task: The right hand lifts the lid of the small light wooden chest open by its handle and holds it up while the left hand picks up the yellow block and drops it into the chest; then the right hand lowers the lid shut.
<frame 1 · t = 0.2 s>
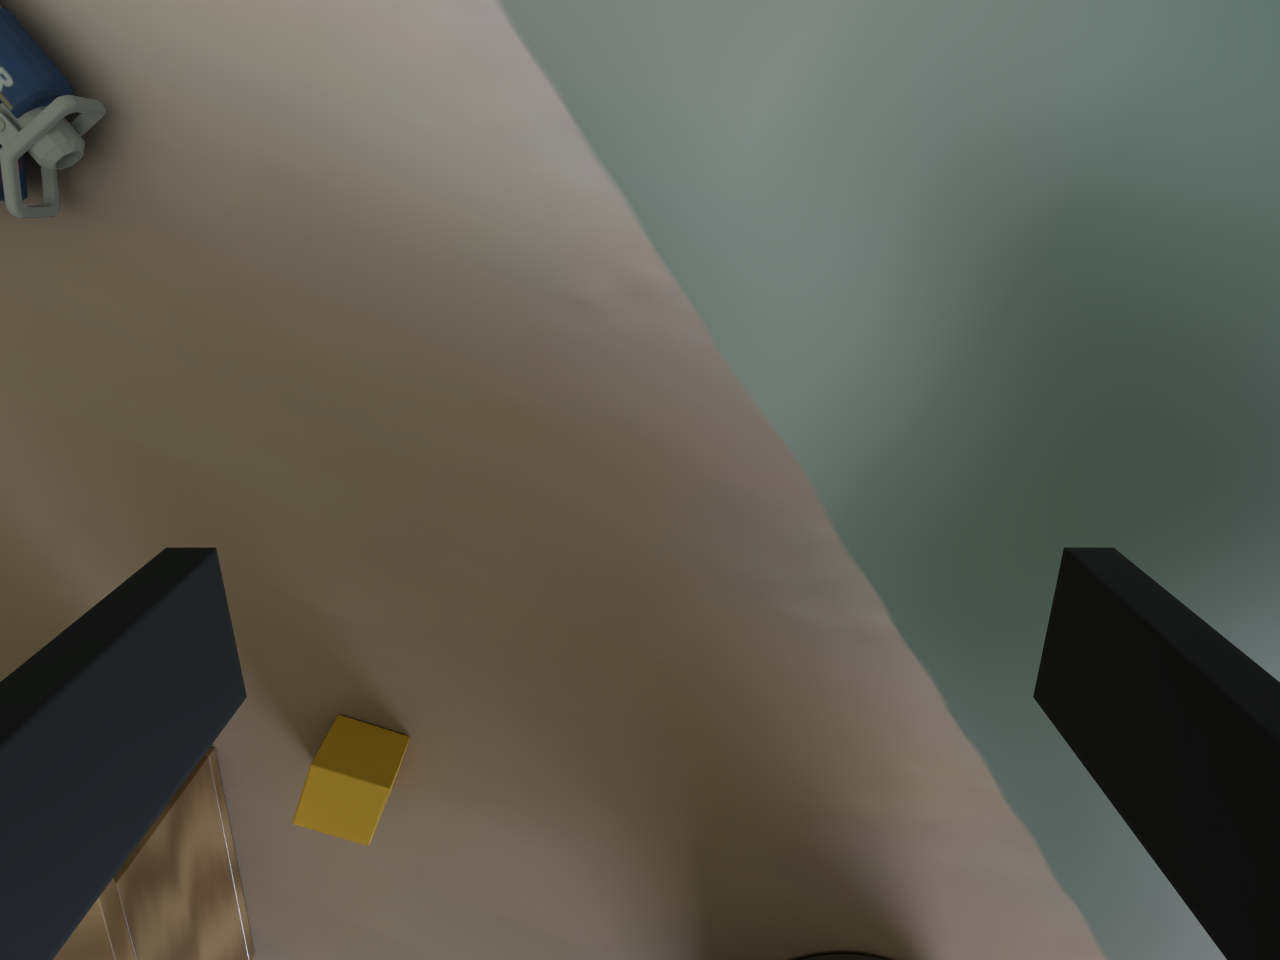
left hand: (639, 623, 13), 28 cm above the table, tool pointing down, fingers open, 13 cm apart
chest: (144, 855, 51), on the table
block: (365, 753, 48), on the table
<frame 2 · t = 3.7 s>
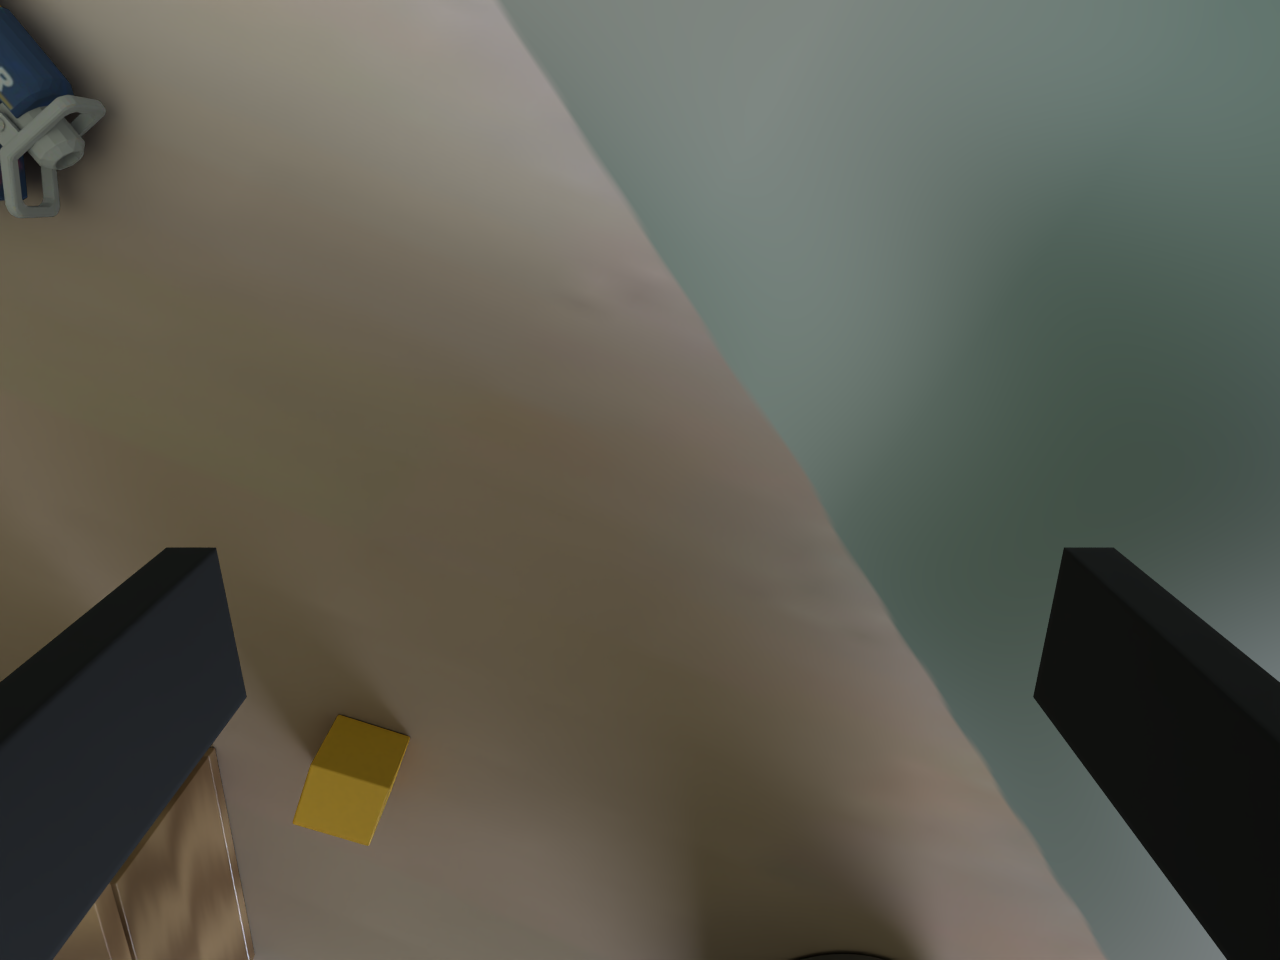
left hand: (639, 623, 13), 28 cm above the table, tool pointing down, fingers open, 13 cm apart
chest: (144, 855, 51), on the table
block: (365, 753, 48), on the table
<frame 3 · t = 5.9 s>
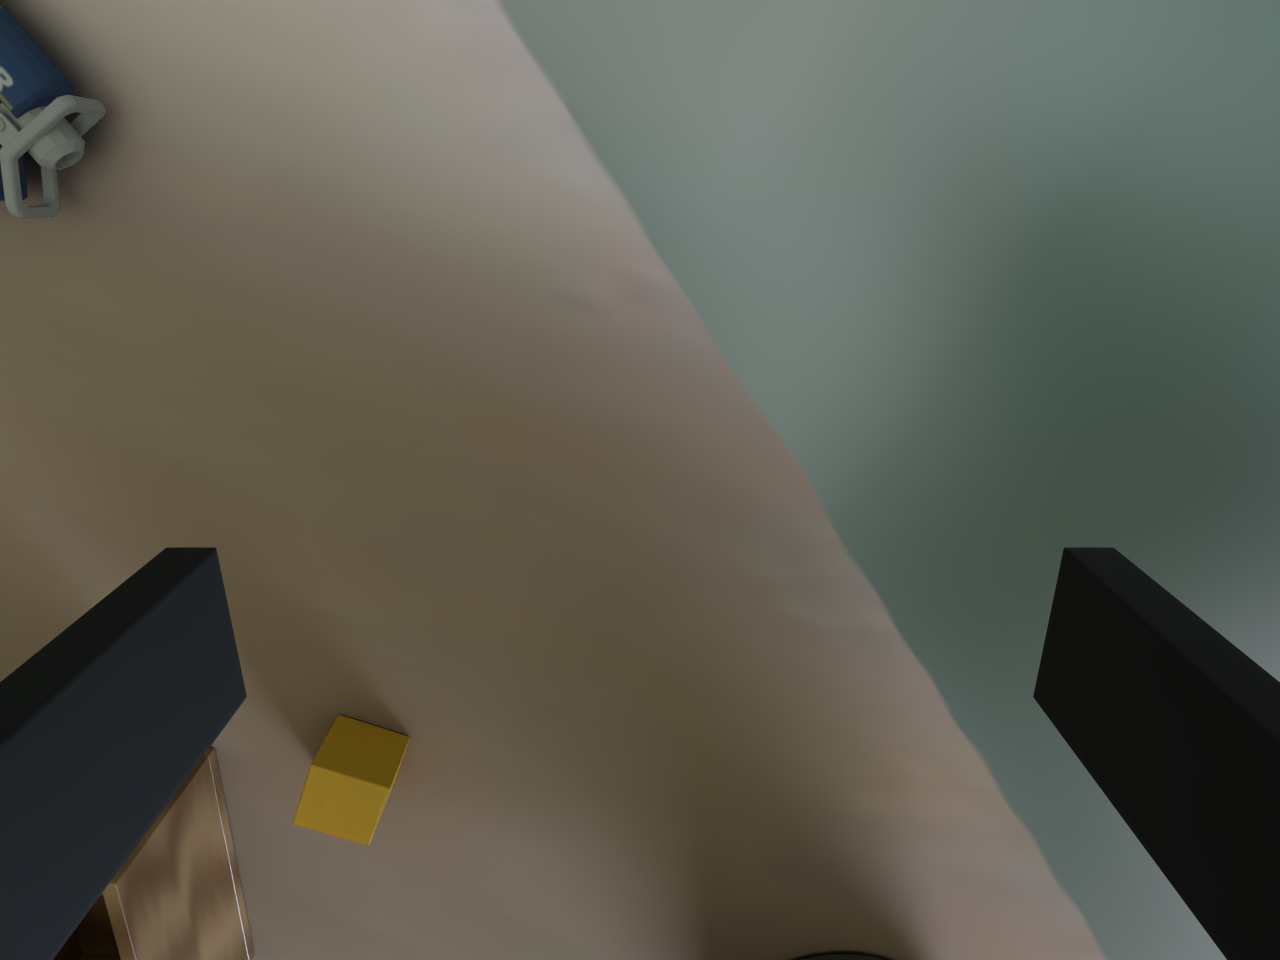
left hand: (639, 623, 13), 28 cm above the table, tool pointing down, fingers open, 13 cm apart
chest: (144, 855, 51), on the table
block: (365, 753, 48), on the table
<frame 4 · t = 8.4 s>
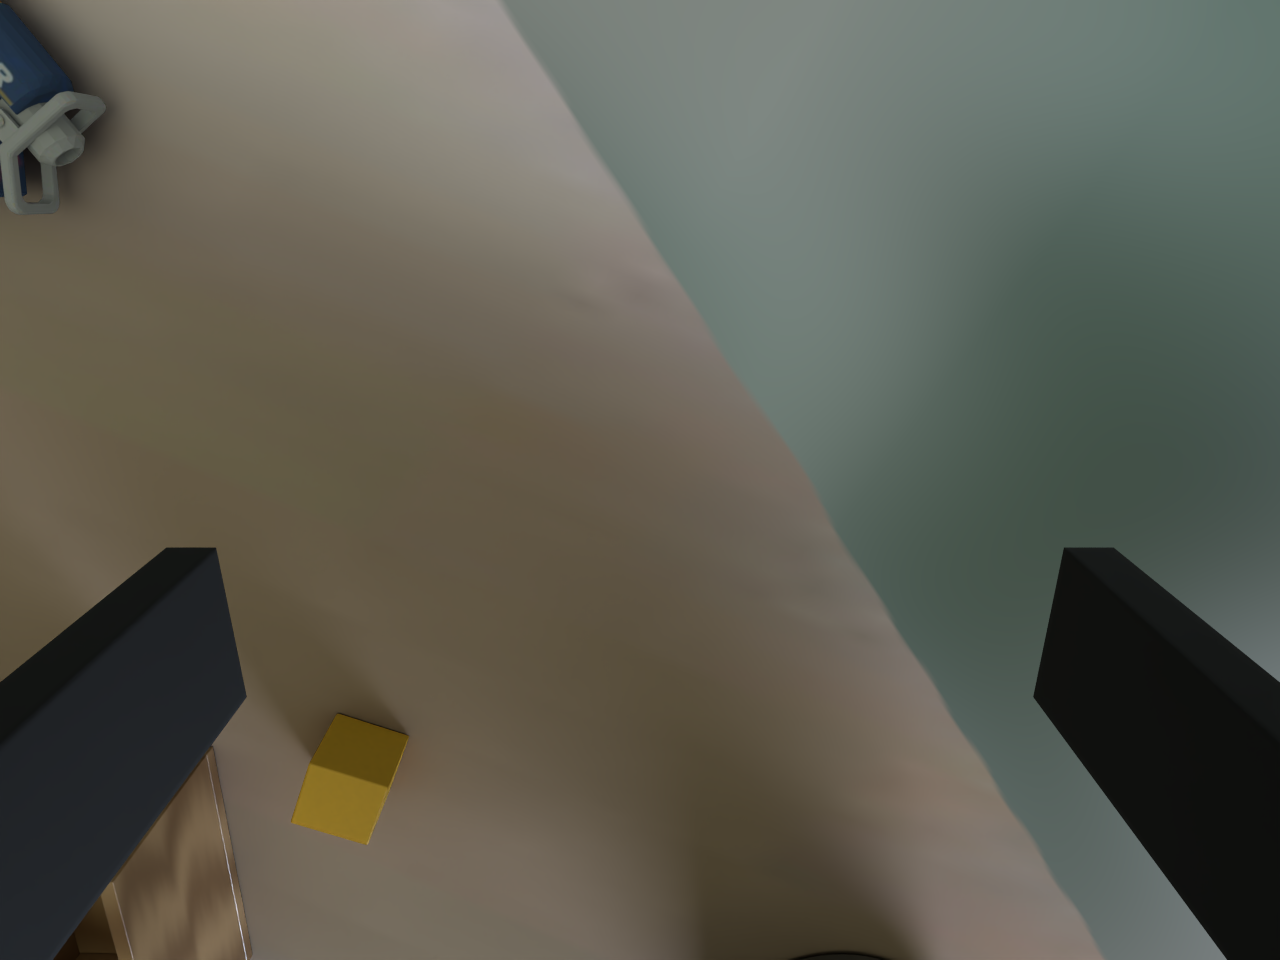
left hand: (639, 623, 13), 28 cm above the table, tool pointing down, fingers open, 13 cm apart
chest: (141, 853, 51), on the table
block: (363, 752, 48), on the table
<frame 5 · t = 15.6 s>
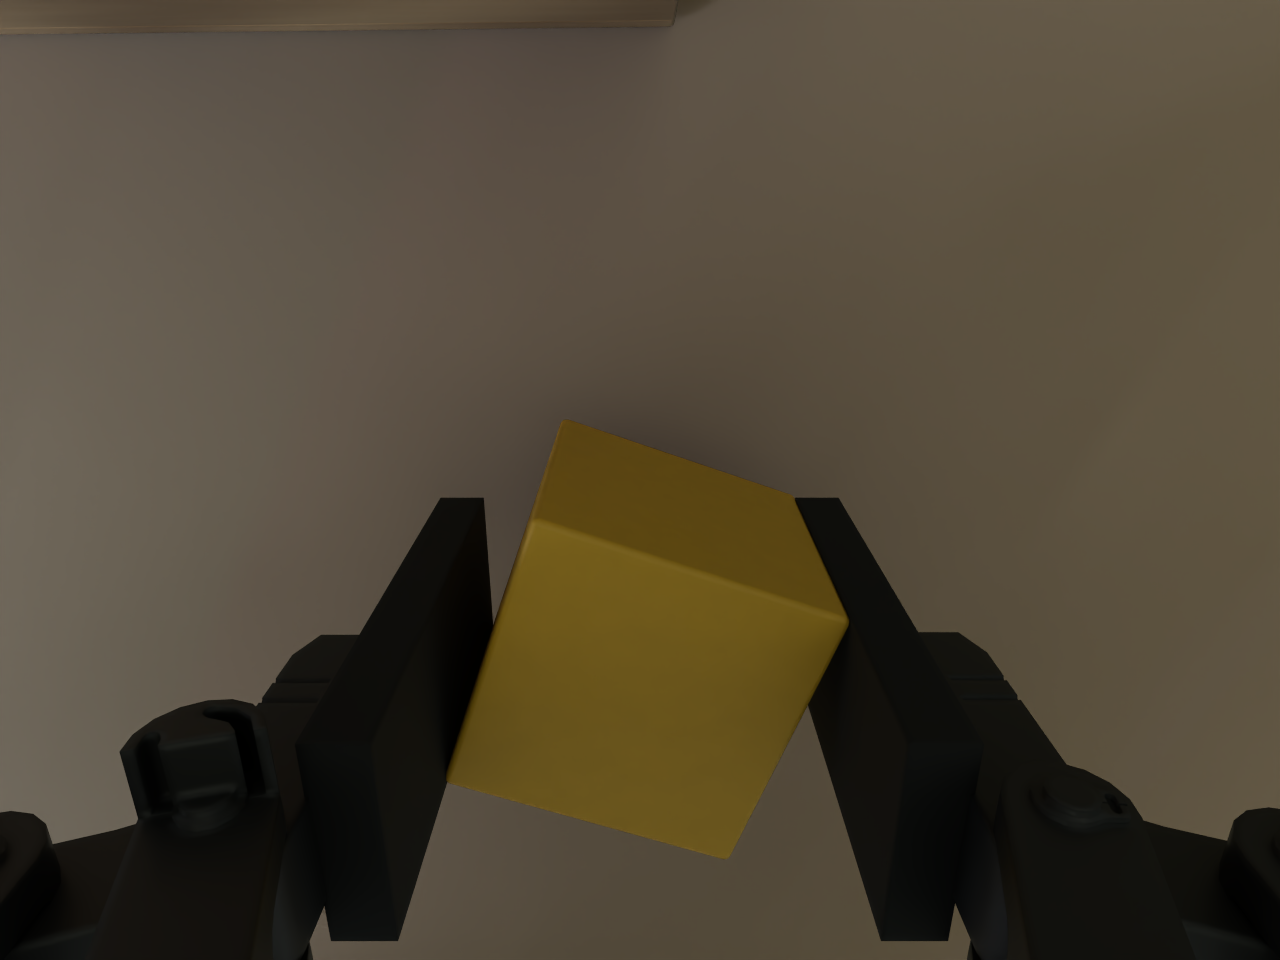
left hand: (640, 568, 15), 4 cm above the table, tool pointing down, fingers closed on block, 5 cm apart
block: (639, 560, 15), point 3 cm above the table, touching left hand
when the left hand's fingers open (17 cm above the table, at t = 19.2 s): block drops 16 cm, resting on chest.
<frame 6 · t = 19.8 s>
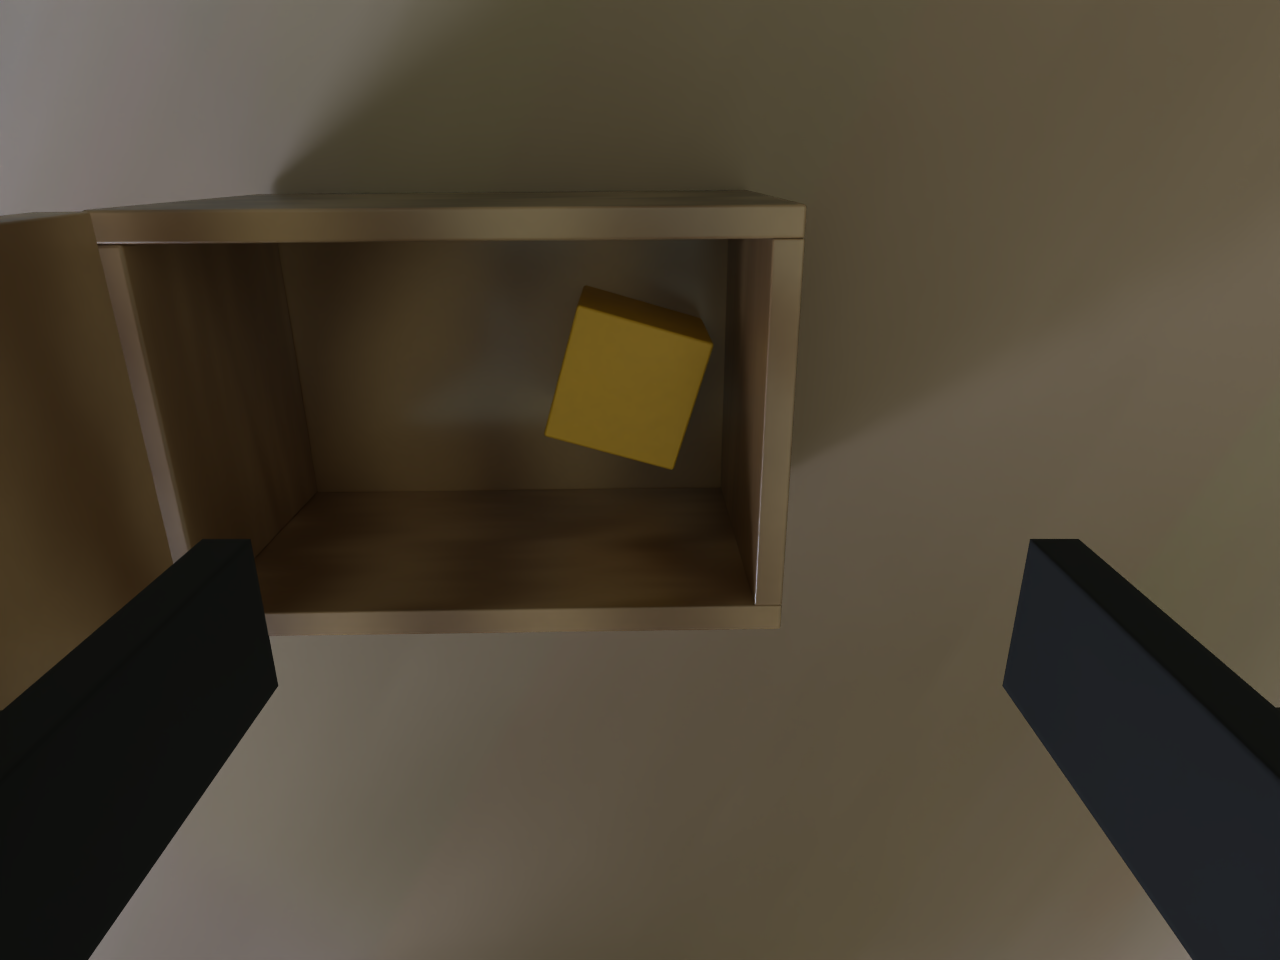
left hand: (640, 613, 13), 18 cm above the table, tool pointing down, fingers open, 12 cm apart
chest: (514, 356, 30), on the table, touching block
block: (627, 359, 30), point 1 cm above the table, touching chest
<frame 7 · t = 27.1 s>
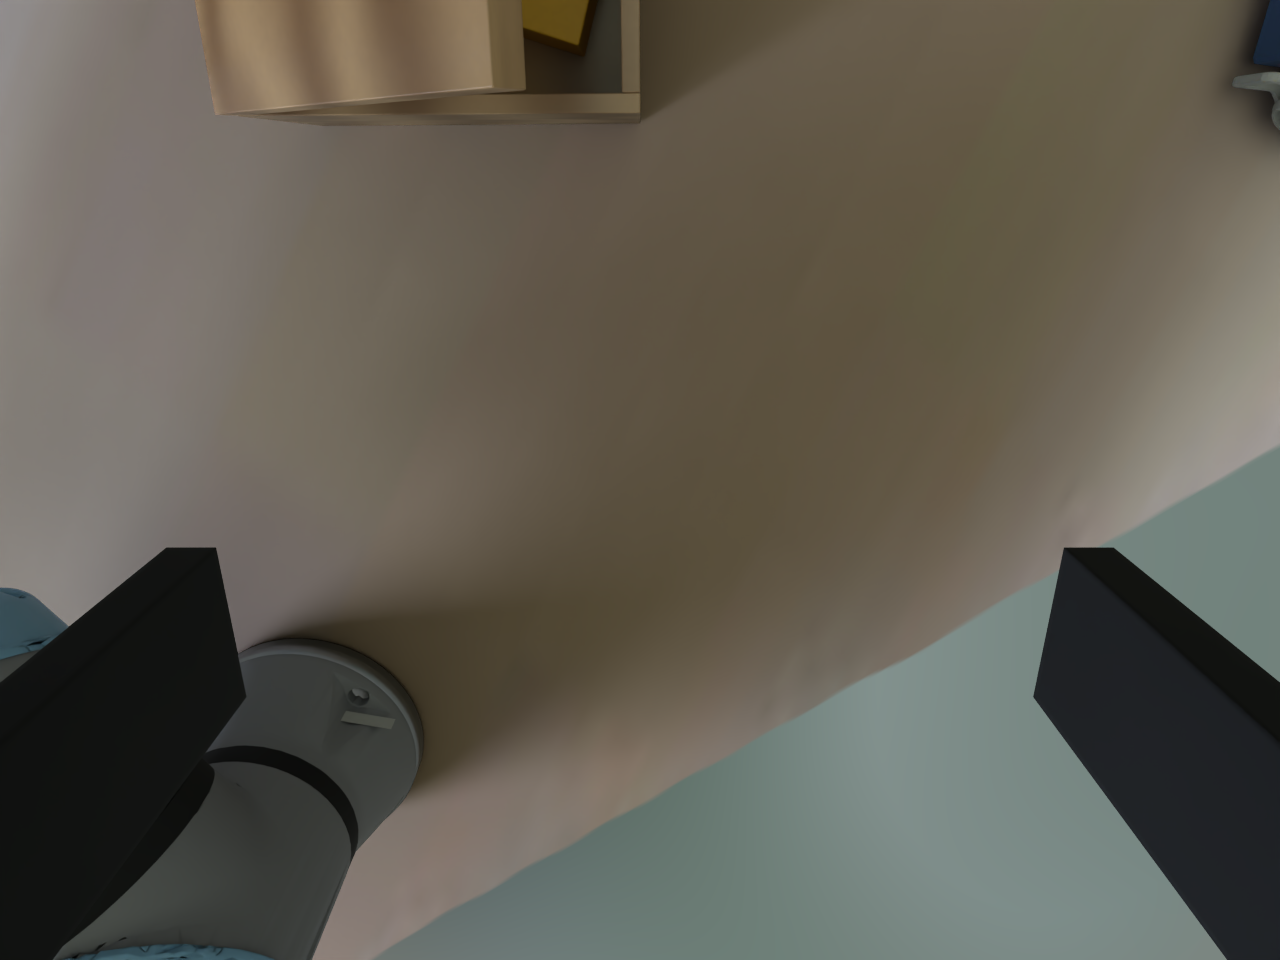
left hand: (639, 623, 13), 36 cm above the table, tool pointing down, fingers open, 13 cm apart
chest: (472, 0, 41), on the table, touching block
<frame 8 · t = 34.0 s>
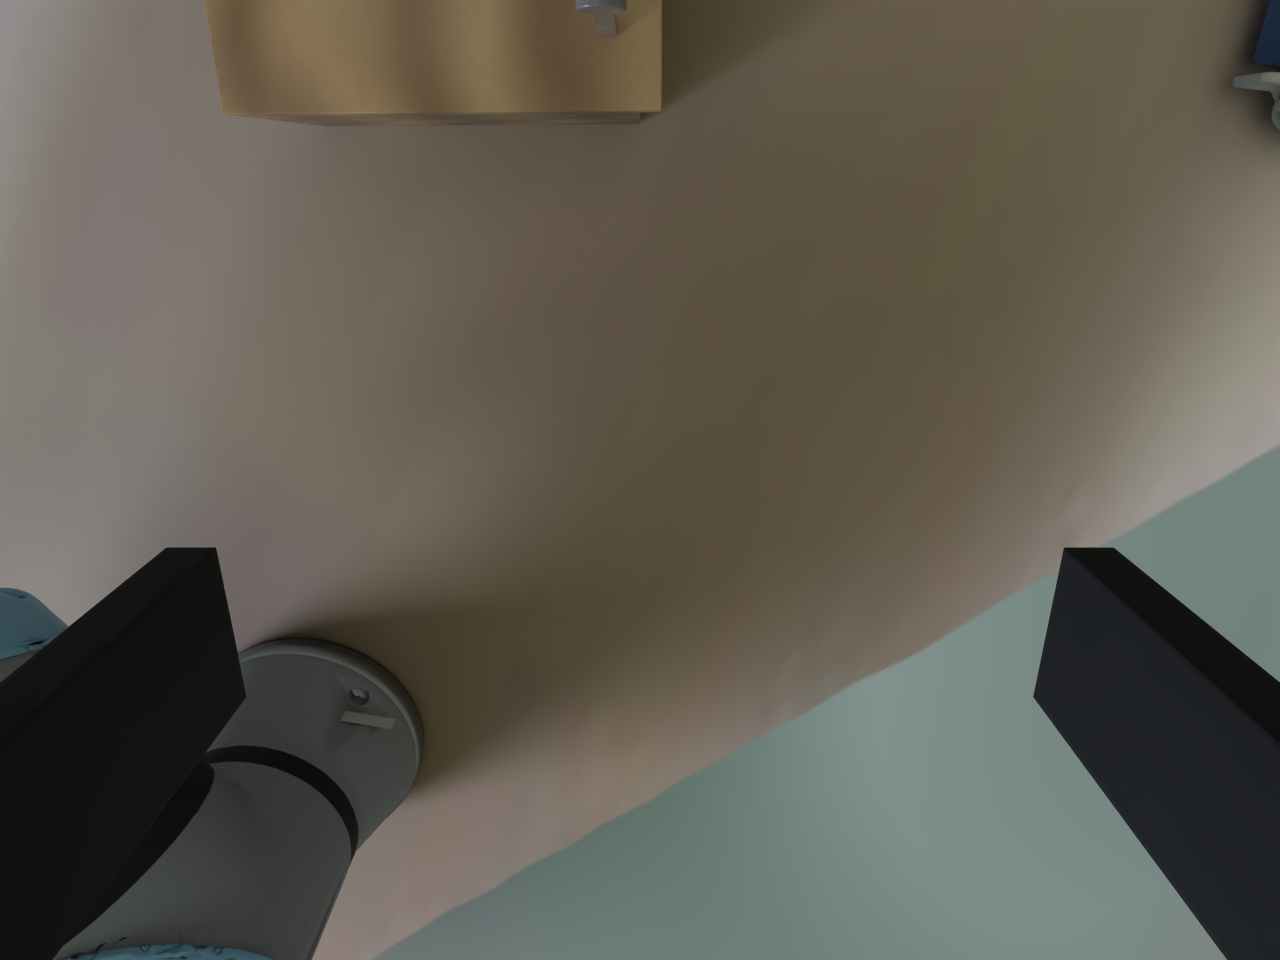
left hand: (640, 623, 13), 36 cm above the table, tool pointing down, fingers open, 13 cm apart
chest: (472, 0, 41), on the table, touching block
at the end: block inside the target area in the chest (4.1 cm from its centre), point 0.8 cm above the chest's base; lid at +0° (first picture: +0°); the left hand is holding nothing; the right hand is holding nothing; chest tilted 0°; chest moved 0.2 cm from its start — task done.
